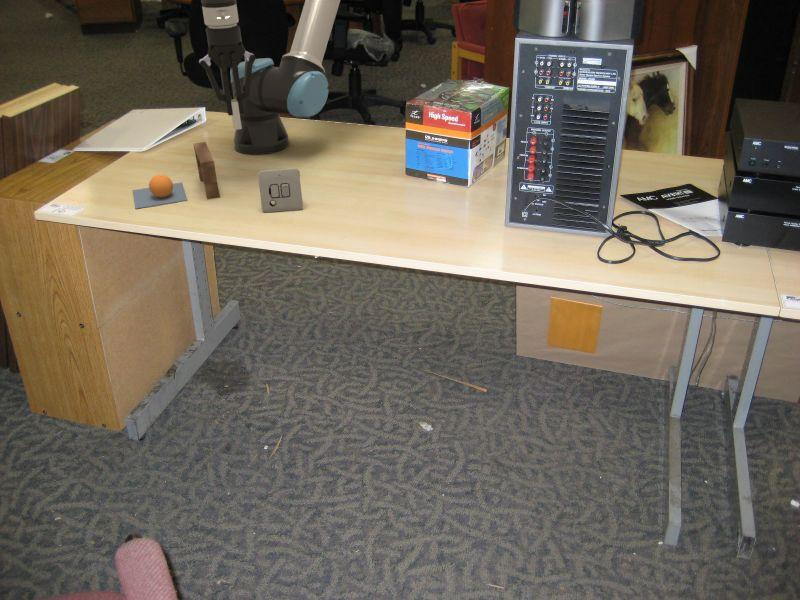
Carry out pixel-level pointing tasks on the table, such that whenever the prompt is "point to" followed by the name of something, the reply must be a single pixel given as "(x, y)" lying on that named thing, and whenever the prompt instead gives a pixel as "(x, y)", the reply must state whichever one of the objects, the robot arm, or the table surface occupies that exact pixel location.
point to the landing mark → (147, 199)
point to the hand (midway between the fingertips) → (237, 127)
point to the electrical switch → (280, 190)
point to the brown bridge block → (206, 170)
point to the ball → (161, 186)
